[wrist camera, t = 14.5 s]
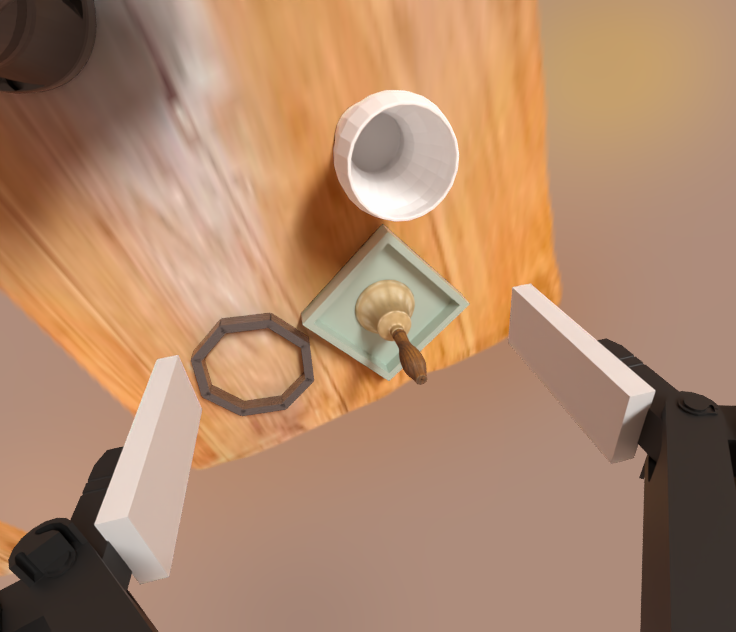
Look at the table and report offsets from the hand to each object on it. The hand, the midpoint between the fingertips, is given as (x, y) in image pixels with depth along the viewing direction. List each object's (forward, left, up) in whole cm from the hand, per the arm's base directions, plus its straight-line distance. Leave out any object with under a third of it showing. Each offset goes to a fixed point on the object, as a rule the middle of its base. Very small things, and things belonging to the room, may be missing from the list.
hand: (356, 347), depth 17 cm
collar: (+12, -25, -37) cm, 46 cm away
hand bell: (+20, -7, -36) cm, 41 cm away
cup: (+4, +7, -37) cm, 38 cm away
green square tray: (+20, -7, -37) cm, 42 cm away
